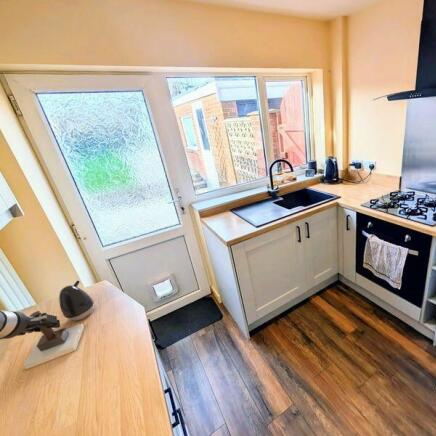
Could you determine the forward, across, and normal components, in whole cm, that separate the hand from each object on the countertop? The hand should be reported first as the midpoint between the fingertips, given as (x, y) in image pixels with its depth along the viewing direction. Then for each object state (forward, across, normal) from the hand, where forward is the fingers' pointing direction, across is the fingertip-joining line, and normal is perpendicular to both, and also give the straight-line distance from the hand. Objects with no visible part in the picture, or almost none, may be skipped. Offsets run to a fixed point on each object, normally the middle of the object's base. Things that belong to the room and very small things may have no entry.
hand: (53, 325), depth 92 cm
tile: (+2, 0, -8) cm, 8 cm away
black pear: (+13, +4, +3) cm, 14 cm away
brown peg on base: (0, 0, -6) cm, 6 cm away
